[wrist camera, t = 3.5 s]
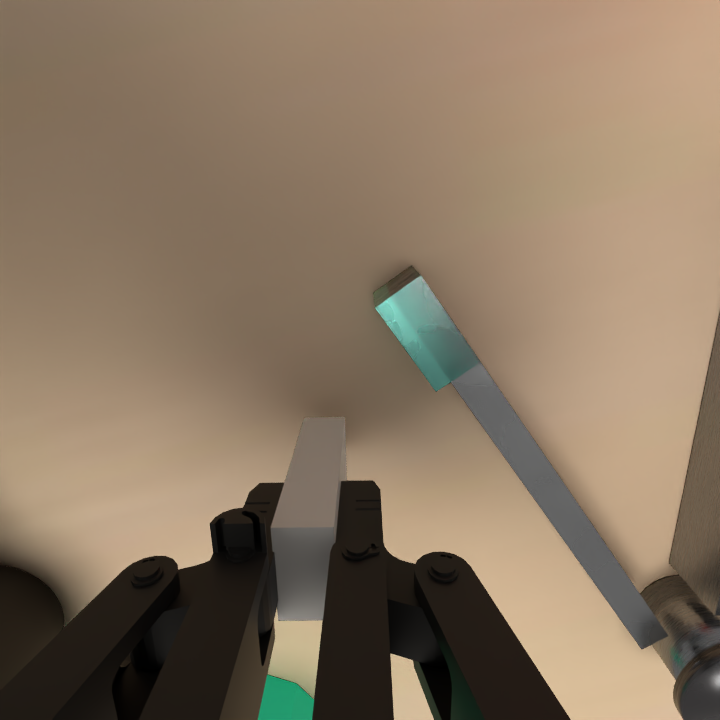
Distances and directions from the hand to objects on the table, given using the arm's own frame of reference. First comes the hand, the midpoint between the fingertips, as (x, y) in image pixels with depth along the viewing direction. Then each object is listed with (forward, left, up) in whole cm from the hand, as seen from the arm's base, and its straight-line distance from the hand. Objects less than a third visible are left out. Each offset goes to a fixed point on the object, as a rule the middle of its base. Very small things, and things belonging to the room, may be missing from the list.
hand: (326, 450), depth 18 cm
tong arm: (+1, +8, -2) cm, 8 cm away
